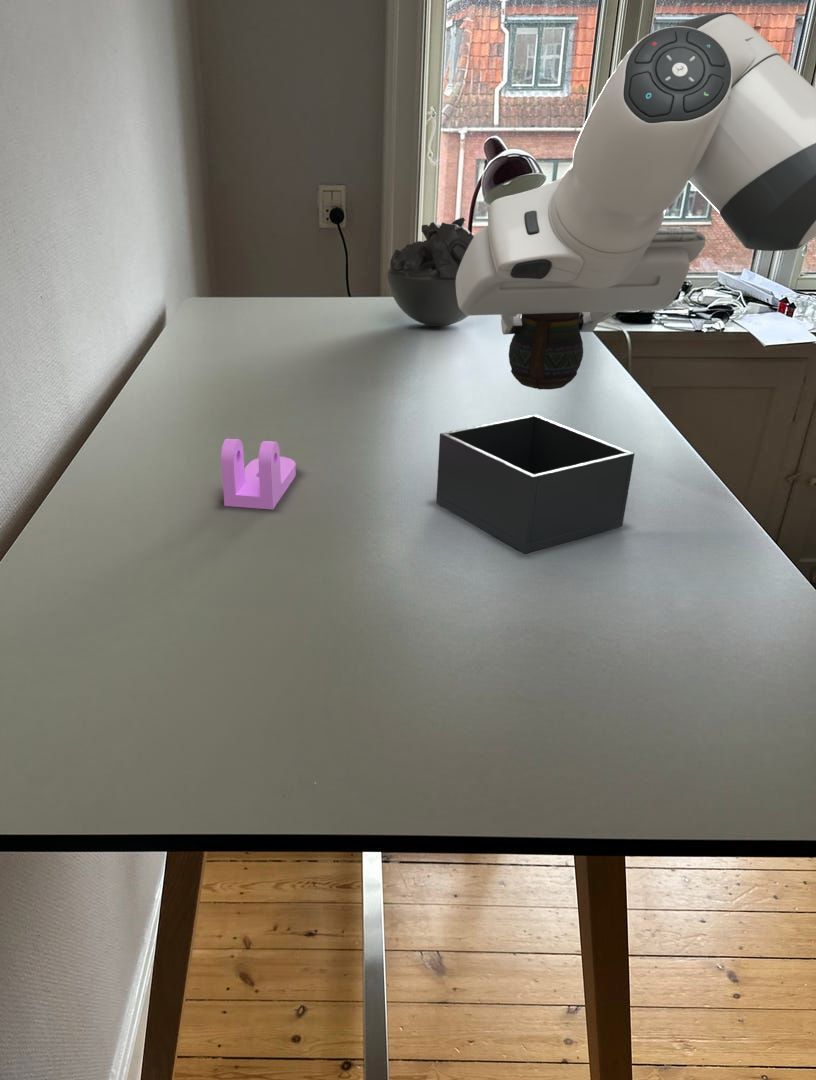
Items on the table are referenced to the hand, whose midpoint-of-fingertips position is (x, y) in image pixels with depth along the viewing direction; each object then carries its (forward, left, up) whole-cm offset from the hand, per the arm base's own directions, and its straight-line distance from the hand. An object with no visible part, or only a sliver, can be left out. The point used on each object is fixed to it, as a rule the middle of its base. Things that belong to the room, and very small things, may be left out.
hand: (545, 327), depth 89 cm
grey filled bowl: (-46, -82, -20) cm, 96 cm away
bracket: (+21, -22, -20) cm, 36 cm away
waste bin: (0, 0, -20) cm, 20 cm away
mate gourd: (0, +1, -6) cm, 6 cm away
